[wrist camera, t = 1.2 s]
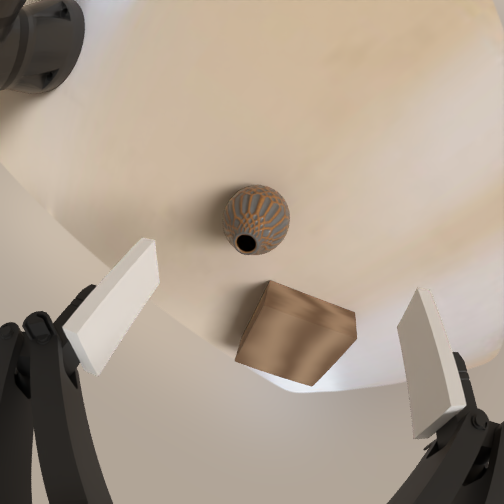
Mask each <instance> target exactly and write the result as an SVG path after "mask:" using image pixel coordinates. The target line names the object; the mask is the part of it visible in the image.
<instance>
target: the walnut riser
mask: <svg viewBox="0 0 504 504" xmlns="http://www.w3.org/2000/svg"><path fill="white" fill-rule="evenodd" d="M356 339H357V331H356V318H355V312H352V311H349V310H347V309H344V308H341V307H339V306H336V305H333V304H331V303H328V302H326V301H323V300H320V299H318V298H315V297H312V296H310V295H307V294H305V293H302V292H299V291H297V290H294V289H292V288H289V287H286V286H284V285H281V284H279V283H276V282H273V281H271V280H270V282H269V284H268V286H267V288H266V290H265V292H264V294H263V296H262V298H261V300H260V302H259V304H258V306H257V308H256V310H255V312H254V314H253V316H252V318H251V320H250V322H249V324H248V326H247V328H246V330H245V332H244V334H243V336H242V338H241V342H240V345H239V348H238V351H237V355H236V358H235V361H236V362H238V363H241V364H244V365H247V366H249V367H252V368H255V369H258V370H261V371H264V372H267V373H270V374H273V375H276V376H279V377H282V378H285V379H289V380H292V381H295V382H298V383H302V384H305V385H309V386H313V385H314V384H315V383H316V382H317V381H318V380H319V379H320V378H321V377H322V376H323V375H324V374H325V373H326V372H327V371H328V370H329V369H330V368H331V367H332V366H333V365H334V364H335V363H336V361H337V360H338V359H339V358H340V357H341V356H342V355H343V354H344V353H345V352H346V351H347V349H348V348H349V347H350V346H351V345H352V344H353V343H354V342H355V340H356Z"/></svg>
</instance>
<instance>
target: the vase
mask: <svg viewBox="0 0 504 504" xmlns="http://www.w3.org/2000/svg"><path fill="white" fill-rule="evenodd" d="M289 222H290V214H289V209H288V206H287V204H286V202H285V200H284V199H283V197H282V196H281V195H280V194H279V193H278V192H277V191H275V190H274V189H272V188H270V187H267V186H262V185H253V186H249V187H246V188H243V189H241V190H240V191H238V192H237V193H236V194H235V195H234V196H233V197H232V198H231V199H230V200H229V202H228V204H227V205H226V208H225V210H224V214H223V229H224V233H225V236H226V238H227V240H228V241H229V242H230V244H231V245H232V246H233V247H234V248H235V249H236V250H237V251H238V252H240V253H241V254H244V255H260V254H265V253H267V252H270V251H271V250H273V249H274V248H276V247H277V246H278V245H279V244H280V243H281V242H282V240H283V239H284V237H285V236H286V234H287V231H288V228H289Z"/></svg>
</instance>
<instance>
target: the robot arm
mask: <svg viewBox="0 0 504 504" xmlns="http://www.w3.org/2000/svg"><path fill="white" fill-rule="evenodd" d="M25 2H26V0H0V91H1V90H5V89H7V90H13V91H19V92H24V93H30V94H37V93H42V92H46V91H50V90H52V89H54V88H56V87H57V86H59V85H60V84H61V83H62V82H63V81H64V80H65V79H66V78H67V76H68V75H69V74H70V72H71V70H72V69H73V67H74V65H75V63H76V61H77V59H78V56H79V54H80V51H81V47H82V44H83V39H84V30H85V23H84V16H83V12H82V10H81V8H80V6H79V5H78V4H77V3H76V2H75V1H74V0H42V1H38V2H35V3H32V4H29V5H26V6H23V5H24V3H25ZM159 283H160V280H159V272H158V264H157V255H156V245H155V240H153V239H148V238H143V237H142V238H141V239H140V240H139V241H138V242H137V243H136V244H135V245H134V246H133V247H132V248H131V249H130V250H129V251H128V252H127V253H126V255H125V256H124V257H123V258H122V259H121V260H120V261H119V262H118V263H117V264H116V265H115V266H114V267H113V269H112V270H111V271H110V272H109V273H108V274H107V275H106V276H105V278H104V279H103V280H102V281H101V282H100V283H99V284H98V285H97V286H96V285H92V284H91V285H89V286H88V287H86V288H84V289H83V290H82V291H81V292H80V293H79V294H78V295H77V296H76V299H74V300H73V301H72V302H71V304H70V305H69V306H68V307H67V308H66V309H65V310H64V311H63V312H62V314H61V315H60V316H59V317H58V318H57V320H56V321H55V322H54V323H52V320H51V318H50V316H49V315H48V314H47V313H46V312H43V311H38V312H34V313H32V314H30V315H29V316H28V317H27V318H26V319H25V320H24V322H23V325H22V327H23V328H24V330H25V332H22V331H21V330H20V328H19V326H18V325H17V324H16V323H13V322H9V323H6V324H4V325H2V326H1V327H0V504H32V493H31V463H32V443H33V430H34V432H35V439H36V445H37V451H38V457H39V462H40V467H41V472H42V476H43V481H44V485H45V489H46V493H47V497H48V500H49V504H113V502H112V500H111V497H110V494H109V492H108V489H107V486H106V483H105V480H104V477H103V474H102V471H101V468H100V465H99V462H98V459H97V455H96V452H95V448H94V445H93V441H92V437H91V434H90V429H89V425H88V421H87V416H86V412H85V407H84V402H83V397H82V391H81V386H80V380H79V374H78V370H77V366H78V365H79V363H81V365H82V367H83V369H84V370H85V371H87V372H89V373H91V374H93V375H95V376H99V375H100V373H101V371H102V370H103V368H104V367H105V365H106V364H107V362H108V360H109V359H110V357H111V356H112V353H113V352H114V351H115V349H116V348H117V346H118V345H119V343H120V341H121V340H122V338H123V337H124V335H125V333H126V332H127V331H128V329H129V328H130V326H131V325H132V323H133V322H134V320H135V319H136V317H137V316H138V314H139V313H140V311H141V310H142V308H143V307H144V305H145V304H146V302H147V301H148V299H149V298H150V296H151V295H152V294H153V292H154V291H155V289H156V288H157V286H158V285H159ZM397 329H398V334H399V339H400V344H401V350H402V355H403V361H404V366H405V372H406V379H407V385H408V393H409V400H410V408H411V417H412V427H413V439H422V438H429V437H430V436H432V435H433V434H434V433H435V432H436V435H437V439H436V440H434V441H433V442H431V443H430V444H429V445H427V446H426V447H425V448H424V450H427V449H428V448H429V449H428V450H427V452H426V454H425V455H424V456H423V458H422V459H421V461H420V462H419V464H418V465H417V466H416V468H415V469H414V471H413V472H412V473H411V475H410V476H409V477H408V479H407V480H406V481H405V483H404V484H403V485H402V486H401V487H400V489H399V490H398V491H397V492H396V494H395V495H394V496H393V497H392V498H391V500H390V501H389V502H388V503H387V504H504V422H502V423H501V424H498V423H494V422H491V421H489V419H488V417H487V415H486V414H485V412H484V411H482V410H480V409H477V406H476V402H475V398H474V394H473V390H472V386H471V382H470V380H469V375H468V373H467V369H466V365H465V362H464V360H463V359H462V357H461V356H460V354H459V353H458V352H452V349H451V346H450V343H449V340H448V337H447V334H446V331H445V328H444V325H443V323H442V320H441V317H440V314H439V312H438V309H437V306H436V304H435V301H434V299H433V296H432V294H431V291H430V290H428V289H422V288H417V290H416V292H415V294H414V296H413V298H412V300H411V302H410V304H409V306H408V308H407V309H406V311H405V313H404V315H403V317H402V319H401V321H400V323H399V324H398V326H397ZM488 463H489V464H488Z"/></svg>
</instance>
